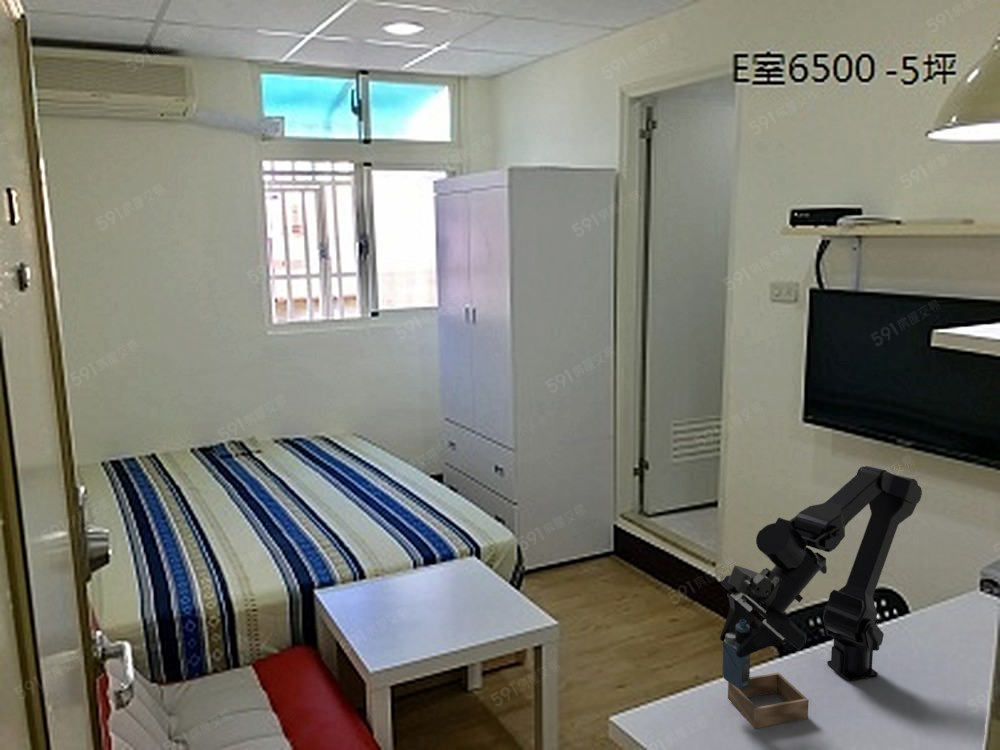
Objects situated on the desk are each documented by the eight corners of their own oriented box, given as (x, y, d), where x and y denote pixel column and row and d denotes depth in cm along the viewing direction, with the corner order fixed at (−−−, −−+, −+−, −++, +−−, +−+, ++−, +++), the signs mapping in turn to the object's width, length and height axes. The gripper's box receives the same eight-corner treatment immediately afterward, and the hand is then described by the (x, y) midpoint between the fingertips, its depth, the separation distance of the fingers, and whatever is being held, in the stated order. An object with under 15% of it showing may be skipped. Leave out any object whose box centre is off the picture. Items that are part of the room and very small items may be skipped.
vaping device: (741, 691, 132) (742, 626, 130) (719, 676, 137) (720, 613, 135) (752, 687, 133) (754, 622, 131) (730, 672, 138) (731, 609, 136)
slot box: (777, 690, 143) (778, 672, 142) (807, 718, 134) (808, 699, 133) (727, 699, 140) (728, 681, 140) (755, 728, 132) (755, 709, 131)
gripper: (730, 531, 141) (674, 598, 140) (791, 573, 123) (726, 650, 122) (769, 566, 144) (714, 631, 143) (834, 612, 126) (771, 687, 125)
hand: (729, 648), depth 134 cm, fingers closed on vaping device, 5 cm apart
